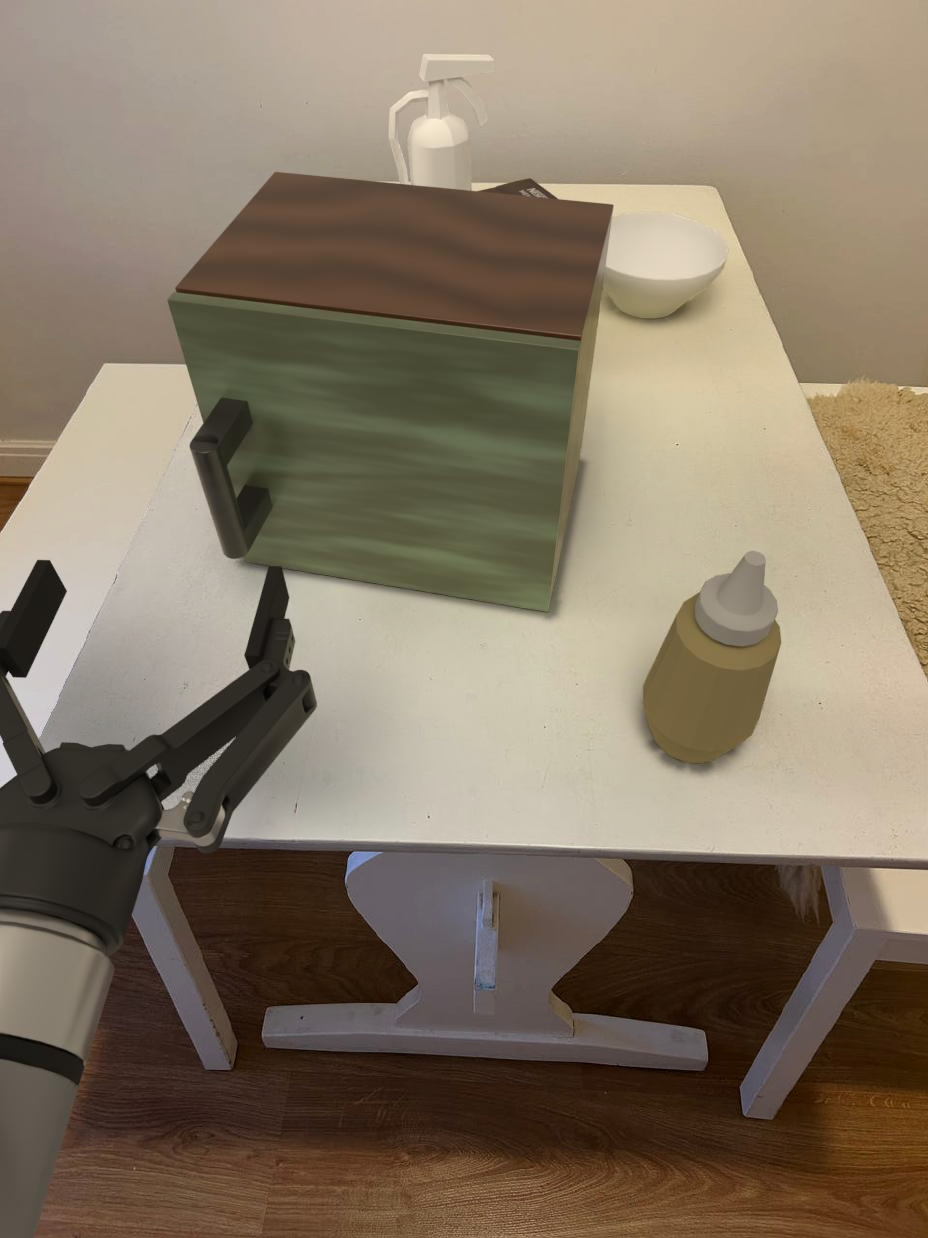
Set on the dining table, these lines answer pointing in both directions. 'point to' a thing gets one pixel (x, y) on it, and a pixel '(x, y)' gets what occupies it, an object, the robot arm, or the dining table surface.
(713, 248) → the bowl
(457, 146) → the fire extinguisher
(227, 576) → the dining table surface
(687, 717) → the squeeze bottle
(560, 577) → the dining table surface
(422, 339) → the cupboard door
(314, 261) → the cupboard
